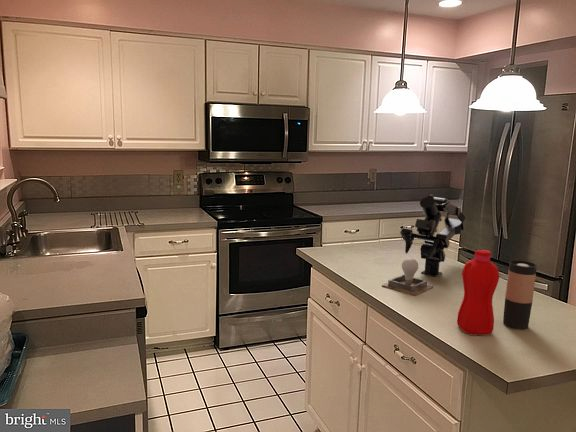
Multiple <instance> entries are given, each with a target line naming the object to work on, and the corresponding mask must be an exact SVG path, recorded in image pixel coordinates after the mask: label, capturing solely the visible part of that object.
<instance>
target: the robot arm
mask: <svg viewBox="0 0 576 432" xmlns="http://www.w3.org/2000/svg"><path fill="white" fill-rule="evenodd" d="M419 205H420V208H421V210H422V213H423V215H424V216H425V217H424V219H421V218H416V221H415V225H414V227H415V228H416V232H414V231H413V229H412V228H408V227H402V228H401V230H400V232H399V233H400V235H401V237H402V240H403V241H404V243H405V249H404V250H405V252H404V253H405V254H407V255H408V253H409V251H410V249H411V247H412V245H413V244H414V242H413V241H414V239H419V240H424V241H423V243H422V244H421V246H420V259H424V260H425V262H424V263H425V264H424V270H422V271H420V273H421V274H424V275H426V276H430V277H431V276H432V277H437V276H440V275H442V274H443V272H441V271H440V263H441V262H443V263H445V260H446V252H445V251H444V250H445V249H448V248H449V246H450V240H451V239H453V237H455V236H456V235H461V234H463V233H464V231H466V230H467V220H466V219H467V218H466V216H465V214H463V212H462V208H461V207H459V206H458V205H456V204H452V203H450V200H449V199H448V198H445V197H437V196H434V195H433V194H428V195H427V196H426V197H423V198H422V199H421V200H420V201H419ZM441 213H446V215H445V218H444V226H445V227H444V228H443V230H441V231H440V232H439V233H437V232H438V226H439V223H440V222H442V220H443V219H442V214H441ZM449 215H452V216H456V218H453V217H449ZM435 233H437V234H436V235H435Z"/></svg>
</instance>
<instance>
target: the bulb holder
mask: <svg viewBox="0 0 576 432" xmlns="http://www.w3.org/2000/svg"><path fill="white" fill-rule="evenodd" d="M381 287H383V288H387V289H389V290H393V291H397V292H400V293H403V294H407V295H410V296H414V297H415V296H418V295H420V294H423V293H424V292H426V291H428V290H431V289H432V288H434V286H433V285H431V284H428V280H425V279H421V278H417V277H415V276H414V277H413V280H412V285H407V284H405V274H401V275H398V276H395V277H393V278H390V279H389V280H388V281H387V282H386V283H383V284H382V285H381Z"/></svg>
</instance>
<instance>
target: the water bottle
mask: <svg viewBox="0 0 576 432" xmlns="http://www.w3.org/2000/svg"><path fill="white" fill-rule="evenodd" d="M491 254H492V252H491V251H490V250H487V249H478V250H475V251H474V256H473V257H474V258H473V259H470V260H468V261H467V262H465V264H464V266H463V269H462V272H461V278H462V283H463V284H462V285H463V291H464V292H463V298H462V301H461V303H460V307H459V309H458V313H457V319H456V324H457V327H458V328H460V329H461V330H462V331H463V332H464V333H466V334H467V335H471V336H488V335H492V333H493V332H494V327H495V326H494V325H495V324H494V323H495V315H494V307H493V297H494V294H495V292H496V289H497V286H498V283H499V282H500V280H499V279H500V274H499V269H498V266H496V264H495V263H493V262H492V261H491Z"/></svg>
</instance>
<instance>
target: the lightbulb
mask: <svg viewBox="0 0 576 432" xmlns="http://www.w3.org/2000/svg"><path fill="white" fill-rule="evenodd" d="M401 269H402V271H403V273H404V274H403V275H405V284H407V285H412V280H413V277H414V278H415V274H416V273H417V272H418V270H419V263H418V261H417V260H416V259H415V258H413V257H407V258H404V260H402V263H401Z"/></svg>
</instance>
